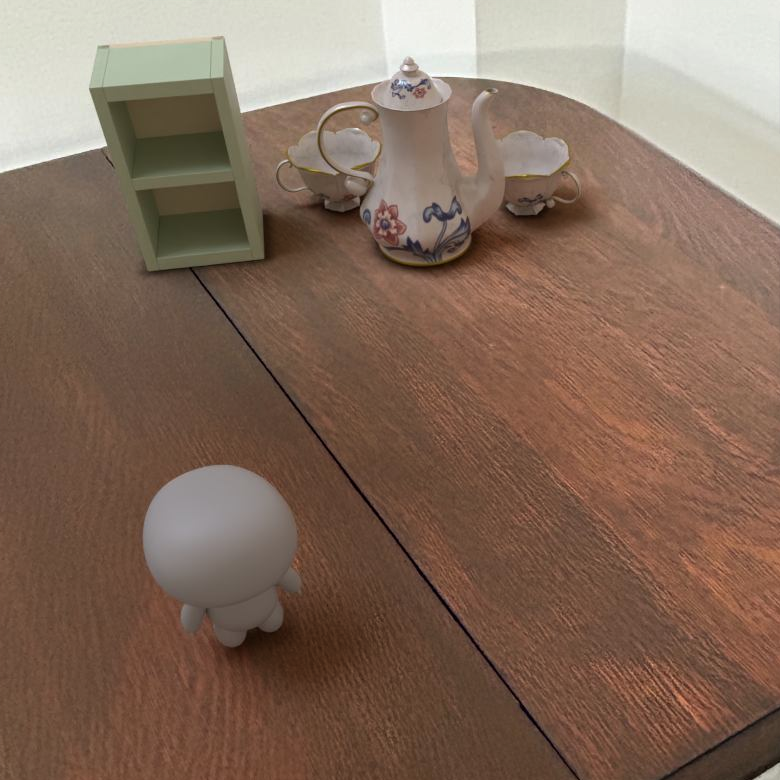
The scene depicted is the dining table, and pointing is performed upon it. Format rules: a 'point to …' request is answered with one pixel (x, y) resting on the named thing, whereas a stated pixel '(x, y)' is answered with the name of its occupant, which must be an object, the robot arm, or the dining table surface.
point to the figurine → (222, 549)
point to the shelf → (179, 150)
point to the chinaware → (425, 169)
